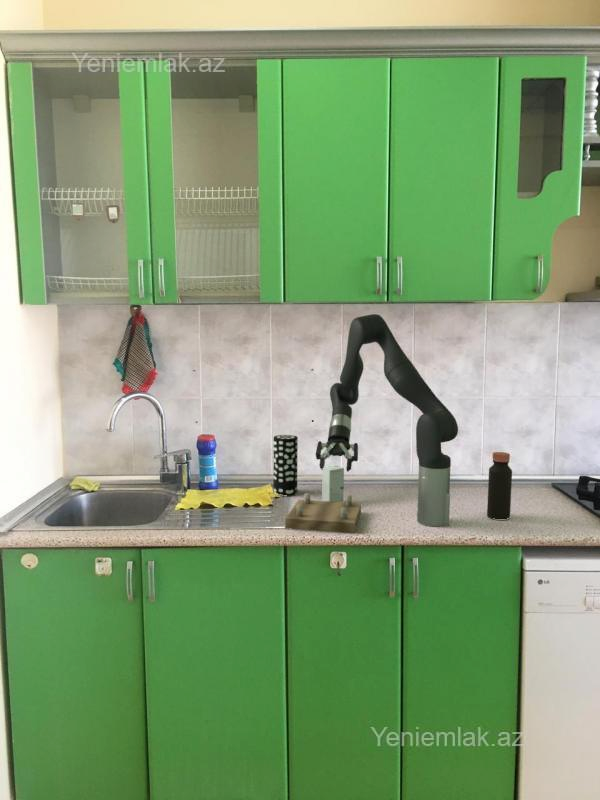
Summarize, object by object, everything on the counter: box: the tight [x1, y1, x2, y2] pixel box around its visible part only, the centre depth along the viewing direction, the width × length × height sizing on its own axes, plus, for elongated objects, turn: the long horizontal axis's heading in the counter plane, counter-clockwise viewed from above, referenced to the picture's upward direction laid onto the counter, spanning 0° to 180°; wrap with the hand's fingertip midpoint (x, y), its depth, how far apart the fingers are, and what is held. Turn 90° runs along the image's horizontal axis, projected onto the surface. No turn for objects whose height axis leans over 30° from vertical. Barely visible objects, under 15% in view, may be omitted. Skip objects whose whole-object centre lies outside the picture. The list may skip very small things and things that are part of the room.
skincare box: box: [321, 465, 345, 502], centre depth 202 cm, size 6×4×12 cm
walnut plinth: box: [284, 492, 362, 534], centre depth 185 cm, size 20×20×6 cm
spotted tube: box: [272, 434, 299, 497], centre depth 214 cm, size 8×8×20 cm
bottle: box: [486, 451, 513, 520], centre depth 188 cm, size 7×7×20 cm
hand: (335, 469), depth 205 cm, fingers open, 8 cm apart
